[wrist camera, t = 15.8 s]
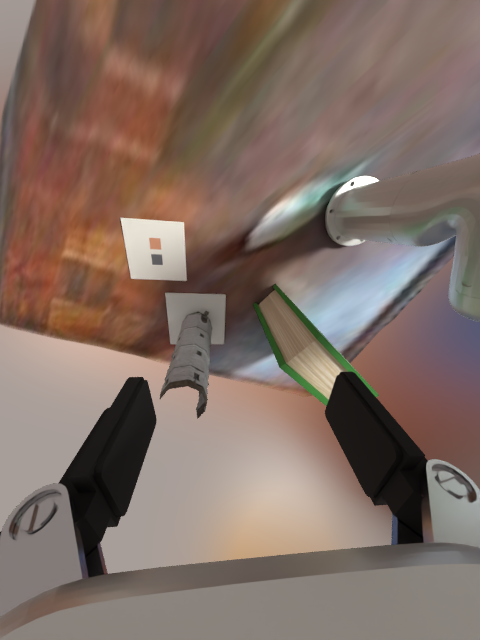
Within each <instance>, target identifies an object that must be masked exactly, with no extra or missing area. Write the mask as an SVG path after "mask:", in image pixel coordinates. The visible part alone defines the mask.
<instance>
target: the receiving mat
mask: <svg viewBox="0 0 480 640" xmlns="http://www.w3.org/2000/svg"><path fill="white" fill-rule="evenodd" d="M165 297H166V306H167V316H168V326H169V335H170V344H177V343H176V342H177V339H178V336H179V333H180V330H181V325H182V321H183V320H184V319H185V317H186V316H187V315H188V314H193V313H196V312H200V313H202V314H204V312H205V311H207V312H209V314H208V315H207V317H208V318H209V319H210V321H211V325H212V328H213V329H212V335H211V344H224V332H225V305H226V294H197V293H165Z"/></svg>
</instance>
